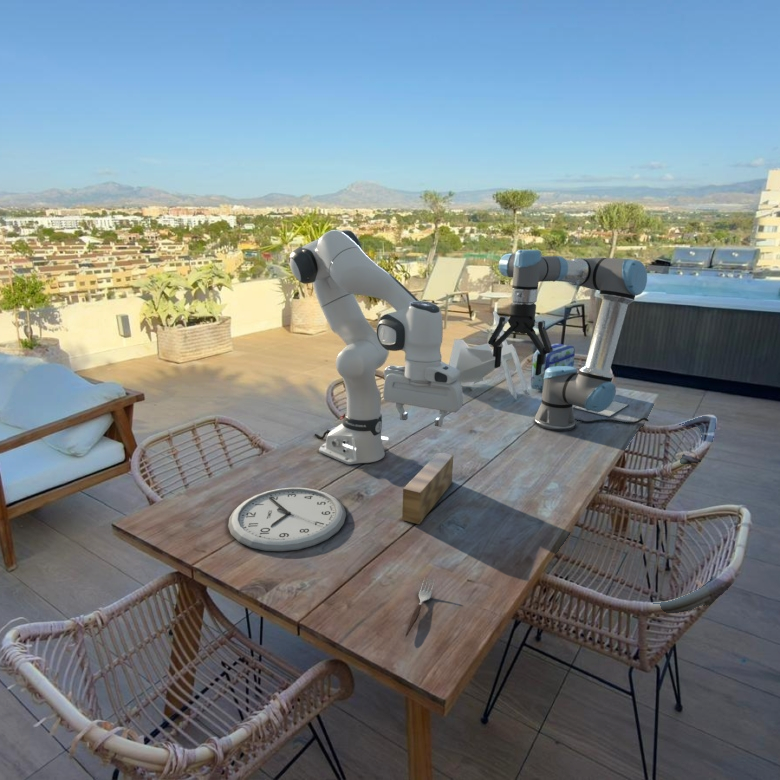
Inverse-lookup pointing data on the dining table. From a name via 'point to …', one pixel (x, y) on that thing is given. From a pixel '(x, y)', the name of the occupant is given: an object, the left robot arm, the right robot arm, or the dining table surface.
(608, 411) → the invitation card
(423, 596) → the fork
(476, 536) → the dining table surface
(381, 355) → the left robot arm
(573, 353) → the lunch box
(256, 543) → the wall clock
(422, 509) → the bar
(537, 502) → the dining table surface
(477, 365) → the white plastic object
